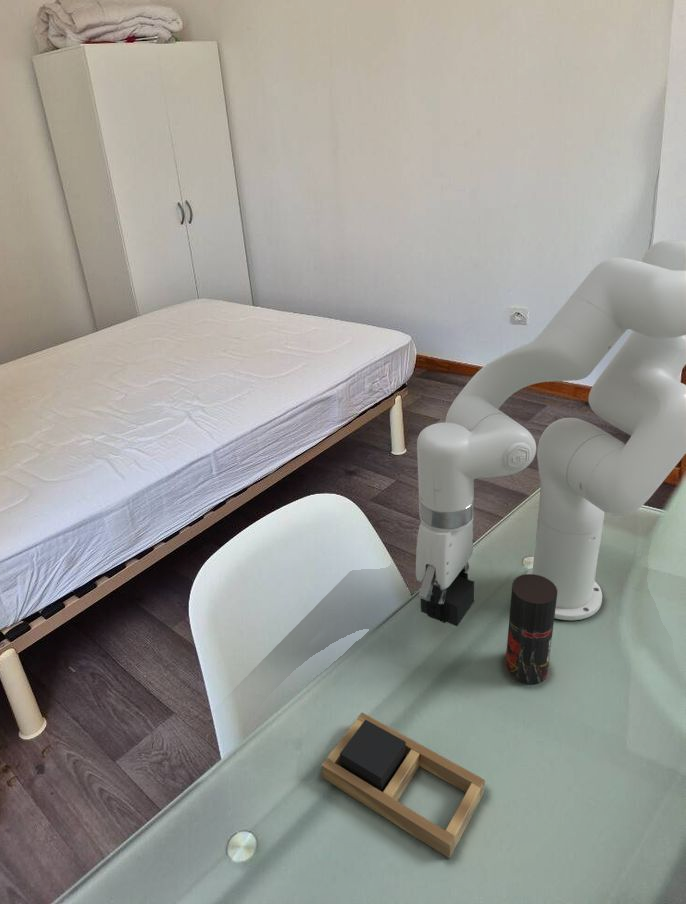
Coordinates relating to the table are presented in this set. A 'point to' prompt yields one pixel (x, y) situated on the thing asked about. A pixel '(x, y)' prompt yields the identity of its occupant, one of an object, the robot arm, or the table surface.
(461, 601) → the pad loose
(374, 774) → the pad seated
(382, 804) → the frame
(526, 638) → the deodorant
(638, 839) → the table surface
